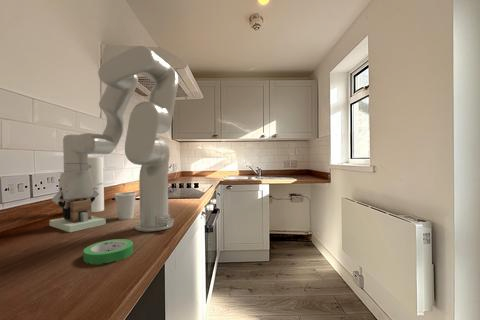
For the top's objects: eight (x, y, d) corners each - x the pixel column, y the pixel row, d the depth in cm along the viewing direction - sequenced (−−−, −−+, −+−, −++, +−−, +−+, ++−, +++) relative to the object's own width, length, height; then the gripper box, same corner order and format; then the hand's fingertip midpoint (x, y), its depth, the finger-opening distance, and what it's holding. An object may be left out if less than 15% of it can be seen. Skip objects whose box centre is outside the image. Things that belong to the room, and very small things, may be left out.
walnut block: (91, 219, 94) (91, 196, 94) (73, 222, 89) (73, 198, 89) (82, 217, 98) (81, 194, 98) (64, 220, 93) (64, 197, 93)
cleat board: (105, 224, 95) (105, 210, 95) (69, 232, 85) (69, 217, 85) (84, 218, 104) (84, 206, 104) (49, 225, 94) (49, 212, 94)
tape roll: (72, 264, 60) (71, 252, 60) (104, 247, 71) (104, 238, 71) (114, 267, 58) (114, 255, 58) (141, 249, 69) (141, 239, 69)
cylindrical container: (107, 210, 121) (106, 157, 121) (91, 212, 115) (90, 157, 115) (98, 208, 125) (98, 157, 125) (83, 211, 119) (82, 157, 119)
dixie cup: (111, 218, 105) (110, 193, 104) (131, 214, 111) (131, 191, 110) (119, 221, 99) (119, 195, 99) (140, 217, 105) (140, 193, 105)
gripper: (94, 167, 103) (95, 211, 103) (43, 169, 89) (45, 220, 89) (104, 167, 99) (105, 213, 99) (53, 169, 85) (54, 223, 85)
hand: (77, 216), depth 94 cm, fingers closed on walnut block, 6 cm apart
